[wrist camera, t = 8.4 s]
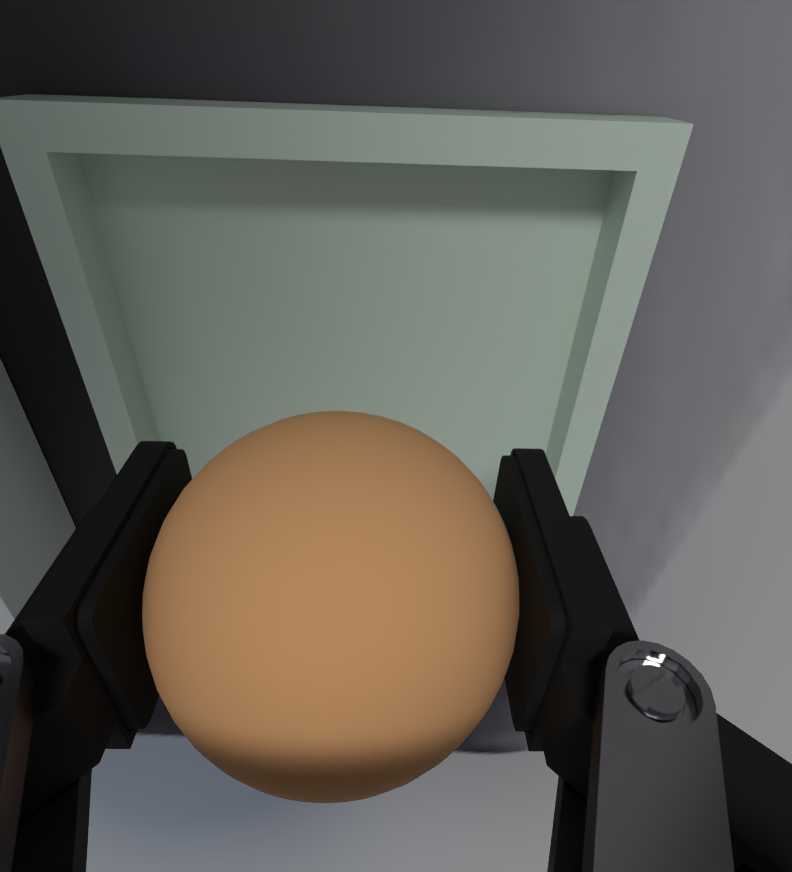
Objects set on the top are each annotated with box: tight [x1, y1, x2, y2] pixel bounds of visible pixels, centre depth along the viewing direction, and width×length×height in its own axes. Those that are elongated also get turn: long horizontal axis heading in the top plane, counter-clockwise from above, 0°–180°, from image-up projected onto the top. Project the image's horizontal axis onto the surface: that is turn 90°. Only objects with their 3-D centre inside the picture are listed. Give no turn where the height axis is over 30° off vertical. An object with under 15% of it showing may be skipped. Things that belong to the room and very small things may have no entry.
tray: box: [0, 94, 694, 516], centre depth 14 cm, size 13×13×2 cm
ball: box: [142, 411, 519, 803], centre depth 9 cm, size 6×6×6 cm
